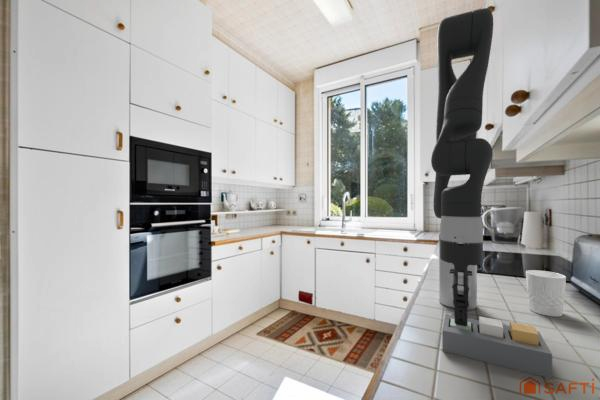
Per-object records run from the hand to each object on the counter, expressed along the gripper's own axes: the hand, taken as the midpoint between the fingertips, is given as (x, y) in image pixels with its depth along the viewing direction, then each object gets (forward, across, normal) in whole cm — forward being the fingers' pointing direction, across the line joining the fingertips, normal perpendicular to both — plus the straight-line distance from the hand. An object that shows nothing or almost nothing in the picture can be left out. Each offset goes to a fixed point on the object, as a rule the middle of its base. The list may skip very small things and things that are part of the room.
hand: (460, 323), depth 55 cm
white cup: (+4, -31, +19) cm, 37 cm away
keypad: (+4, 0, +5) cm, 7 cm away
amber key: (0, 0, +10) cm, 10 cm away
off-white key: (0, 0, +5) cm, 5 cm away
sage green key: (+2, 0, 0) cm, 2 cm away
